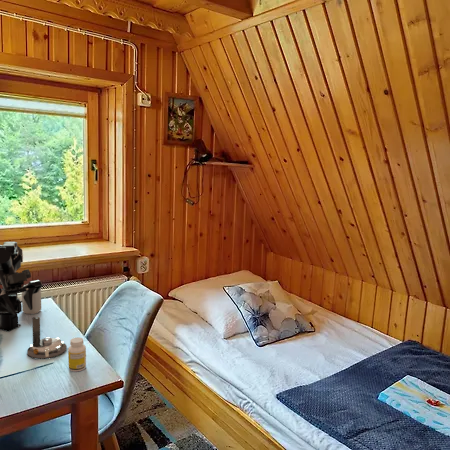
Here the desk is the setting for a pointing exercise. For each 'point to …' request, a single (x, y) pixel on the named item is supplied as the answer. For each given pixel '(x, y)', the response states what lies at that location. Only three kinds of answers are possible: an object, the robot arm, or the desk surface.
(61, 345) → the sprocket
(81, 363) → the supplement bottle
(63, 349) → the base plate
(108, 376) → the desk surface
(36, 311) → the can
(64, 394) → the desk surface
